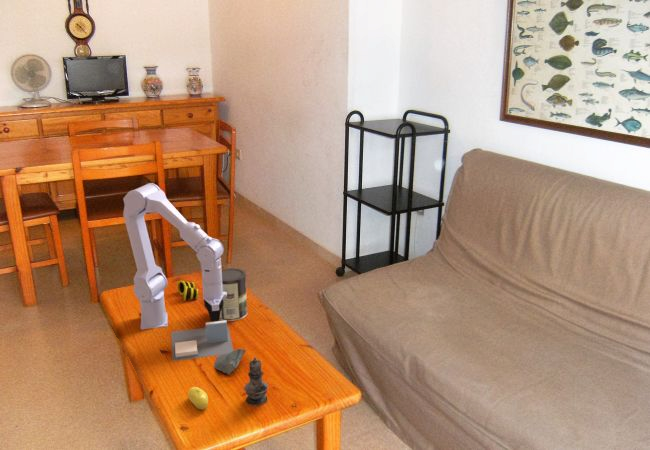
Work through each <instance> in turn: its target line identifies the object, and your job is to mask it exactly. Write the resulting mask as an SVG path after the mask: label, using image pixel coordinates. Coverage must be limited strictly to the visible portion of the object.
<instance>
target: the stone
mask: <svg viewBox="0 0 650 450" xmlns="http://www.w3.org/2000/svg"><path fill="white" fill-rule="evenodd" d="M246 351H247V350H246V349H243V348H236V349H233V351H232V352H230V353H226V354H224V355H217V356H216V358H215V361H214V364H213V368H214V369H216V370H218V371H220V372H222V373H223V374H227V376H229V375H230V374H231V373H232V372H234V371H235V370H236V368H237V367H238V366H239V364H240V362H241V360H242V358H243V356H244V355H245V352H246Z"/></svg>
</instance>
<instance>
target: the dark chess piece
mask: <svg viewBox="0 0 650 450" xmlns="http://www.w3.org/2000/svg"><path fill="white" fill-rule="evenodd" d="M248 366H249V372H248V377H249V382H248V383H246V384H245V385H244V387H243V389H244V391H245V393H246V395H247V396H246V397H245V401H246V404H248V405H249V406H252V407H258V406H259V407H260V406H263V405H264V404H266V403H267V401H268V396H267V395H266V394H267V392H268V389H269V384H268V382H265V381H263V375H264V372H263V371H262V361H261V360H259V359H257V358H256V357H254V358H253V359H252V360H250V361H249V365H248Z"/></svg>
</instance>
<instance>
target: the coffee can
mask: <svg viewBox="0 0 650 450" xmlns="http://www.w3.org/2000/svg"><path fill="white" fill-rule="evenodd" d="M246 276H247V274H246V271H245V270H242V269H241V268H234V267H233V268H223V269H222V286H223V292H227V296H225V297H223V302H224V305H223V307H222V309H221V312H220V318H219V321H224V320H226V321H227V322H233V321H239V320H242V319H243V318H245V317H247V315H248V301H247V298H248V297H247V283H246V282H247V281H246V280H247V279H246Z"/></svg>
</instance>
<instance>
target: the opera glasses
mask: <svg viewBox="0 0 650 450" xmlns="http://www.w3.org/2000/svg"><path fill="white" fill-rule="evenodd" d="M177 291H178V294H179V295H181V296H183V301H185V302H187V300H190V301H191V300H198V298H199V289H198V288H196V285H195V282H193V281H191V282H189V281H184V280H179V282H178V283H177Z"/></svg>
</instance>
